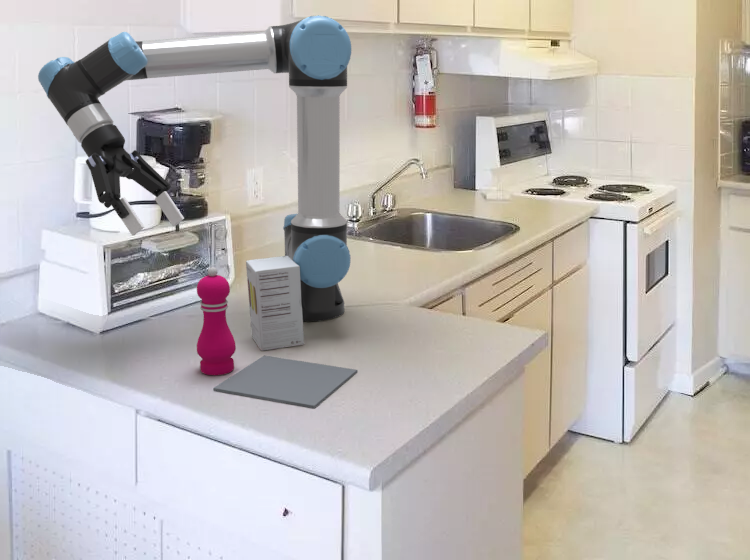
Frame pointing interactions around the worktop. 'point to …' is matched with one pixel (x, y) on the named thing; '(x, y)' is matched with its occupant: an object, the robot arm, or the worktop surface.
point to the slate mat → (287, 381)
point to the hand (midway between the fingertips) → (159, 227)
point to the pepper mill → (215, 326)
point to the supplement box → (275, 302)
